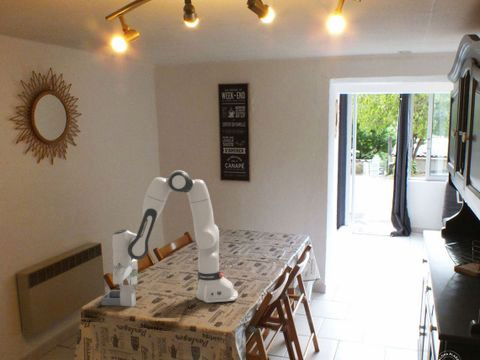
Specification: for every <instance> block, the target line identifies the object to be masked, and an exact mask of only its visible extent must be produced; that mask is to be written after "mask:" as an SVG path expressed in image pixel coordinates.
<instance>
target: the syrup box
mask: <svg viewBox="0 0 480 360" xmlns="http://www.w3.org/2000/svg"><path fill="white" fill-rule="evenodd" d="M138 271H139V269H138V260H136V259H133V260H132V272H131V273H130V274H129V275H128V279H127V280H128V283H129V286H134V285H137V284H139V276H138V275H139V273H138Z"/></svg>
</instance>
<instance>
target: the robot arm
mask: <svg viewBox="0 0 480 360" xmlns="http://www.w3.org/2000/svg"><path fill="white" fill-rule="evenodd" d="M171 192H176V193H185V194H187V198H188V200H189V206H190V210H191V211H190V212H191V215H192V220H193V221H192V222H193V231H194V238H195V243H196V245H197V247H198V254H197V258H198V259H197V265H198V266H197V267H198V270H197V282H198V283H197V291H196V296H195V298H197V299H198V300H200V301H202V302H204V303H219V302H220V303H222V302H232V301H236V300H237V299H238V297H239V293H238V291H237V290H236V289H234V285H233V283H232V282H231V281H230V280H229V279H227V278H226V277H224V272H223V270H221V269H220V262H219V261H220V260H219V259H220V257H219V255H220V230H219V229H220V228H219V227H218V225H216V223H215V218H214V210H213V206H212V201H211V198H210V197H211V196H210V192H209V190H208V186H207V185H206V182H205V181H204V180H202V179H199V178H197V179H191V177H190V176H189V174H188V173H187V172H186V171H184V170H180V169H179V170H174V171H173V172H172V173H170V175H168V176H167V177H159V176H158V177H155V178H154V179H153V180H152V181H151V183H150V185H149V186H148V188H147V190H146V192H145V196H144V200H143V203H142V216H141V217H142V218H141V222H140V226H139V228H138V231H137V233H135V232H132V231H130V230H129V229H119V230H117V231H115V232H114V234H113V235H112V241H111V242H112V246H111V247H112V250H113V254H112V261H113V266H114V267H115V268H114V269H113V272H112V282H113V285H119V290H121V285H123V281H124V280H125V279H128V275H129V274H130V273H131V272H132V260H133V259H135V260H137V261H138V260H143V259H144V258H146V257H147V255H148V254H149V241H150V236H151V233H152V231H153V228H154V226H155V223H156V222H157V220H158V218H159V216H160V215H161V213H162V212H163V209H164V207H165V205H166V202H167V201H168V197H169V195H170V194H171Z"/></svg>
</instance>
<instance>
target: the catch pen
mask: <svg viewBox="0 0 480 360" xmlns="http://www.w3.org/2000/svg"><path fill="white" fill-rule="evenodd" d="M120 291H121V289H119V290H118V289H117V290H116V289H115V290H113V289H111V290H108V291H107V292H106V293H105V294H104V295H103V296H102V297H101V303H100V304H101V306H121V305H120Z"/></svg>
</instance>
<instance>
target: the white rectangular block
mask: <svg viewBox="0 0 480 360" xmlns="http://www.w3.org/2000/svg"><path fill="white" fill-rule="evenodd" d="M120 290H121V291H120V297H119V298H120V305H119V306H123V307H131V308H133V307H134V306H135V305H136V304H137V299H136V298H137V297H136V290H135V288H134V285H132V286H125V285H121V289H120Z"/></svg>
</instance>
